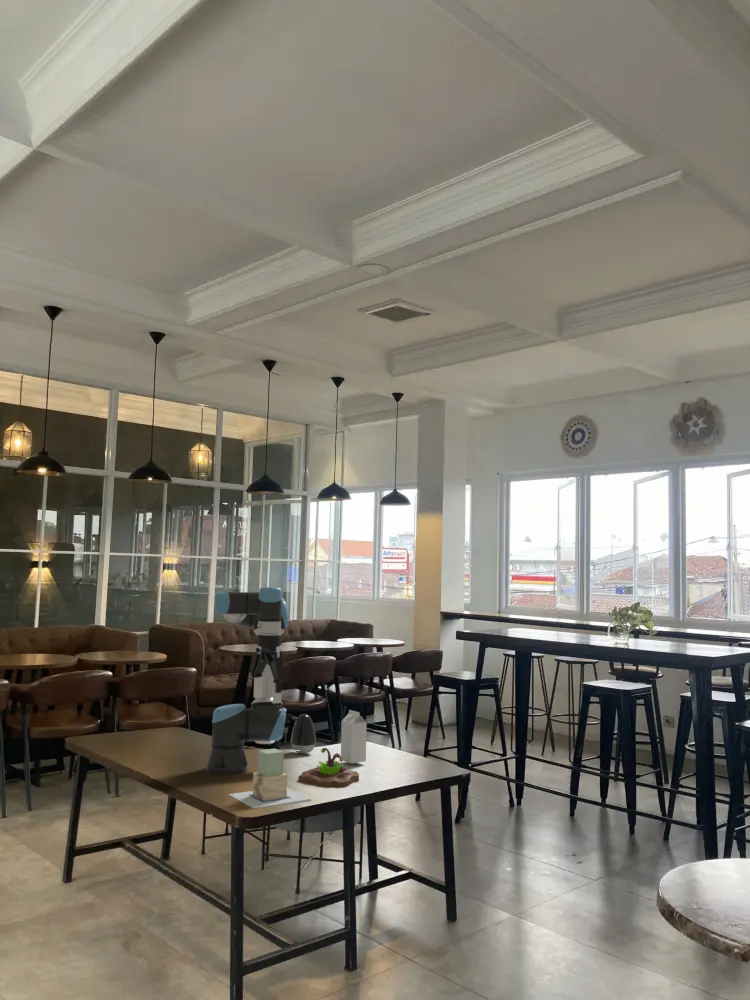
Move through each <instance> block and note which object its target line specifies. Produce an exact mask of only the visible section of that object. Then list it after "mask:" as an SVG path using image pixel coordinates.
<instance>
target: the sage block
mask: <svg viewBox="0 0 750 1000" xmlns="http://www.w3.org/2000/svg"><path fill="white" fill-rule="evenodd" d="M257 754H258V755H257V772H258V773H259V774H261V775H263V776H265V777H269V776H276V775H283V773H284V758H285V752H284V751H283V750H280V749H279V748H278V749H277V748H269V749H259V750H258V752H257Z"/></svg>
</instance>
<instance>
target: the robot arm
mask: <svg viewBox="0 0 750 1000" xmlns="http://www.w3.org/2000/svg"><path fill="white" fill-rule="evenodd" d="M282 591H283V590H282V588H281V587H279V586H278V587H275V586H274V587H272V586H267V587H265V586H264V587H263V586H262V587H260V588H259V591H258V592H255V591H254V592H253V591H252V592H251V591H250V592H248V591H247V592H245V591H242V592H241V591H217V592H216V593H215V599H214V611H215V614H218V615H222V617H223V618H224V619H225V621H226V622H228V623H230V624H232V625H235V626H239V627H243V628H253V633H254V634H255V635H256V636H257V637H256V639H257V640H256V641H257V642H256V643H257V644H256V646H257V647H256V648H255V655H254V659H253V663H252V667H251V671H250V674H251V676H252V675H253V698H255V699H254V700H253V701H252V702H251V704H250V705H251V706H250V708H246V705H245V704H244V703H233V704H225V705H222V706H218V707H217V708H215V709H214V710H213V713H212V720H211V723H212V729H211V732H212V733H211V748H210V753H209V755H208V758H207V761H206V764H205V772H206V771H207V772H206V773H208V772H209V774H212V775H218V774H219V775H220V776H226V775H227V776H234V775H233V774H235V775H241V774H244V772H245V773H247V772H248V770H249V763H248V759H247V755H246V752H245V747H244V745H245V742H255V741H269V742H270V741H275V742H277V741H280V740H282V739H283V736H284V729H285V723H286V716H287V708H285V707H283V702H282V683H283V682H285V681H286V679H287V677H286V673H285V669H284V668H285V667H284V663H283V656H282V655H283V653H282V650H281V640H282V639H281V636H282V635H283V634H284V633H285V629H286V628H288V627H289V618H288V617H289V616H288V607H287V602H286V600H285V599H284V598H283V593H282ZM240 773H241V774H240Z"/></svg>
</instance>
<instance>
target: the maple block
mask: <svg viewBox="0 0 750 1000" xmlns="http://www.w3.org/2000/svg"><path fill="white" fill-rule="evenodd" d="M252 775H253V776H252V791H253V796H255V797H257V798H259V799H261V800H263V801H267V800H273V799H280V798H287V788H288V774H286V773H284V772H283V775H276V776H269V777H265V776H263V775H261V774H259V773H258V771H256V772H255V771H254V772H252Z"/></svg>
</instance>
